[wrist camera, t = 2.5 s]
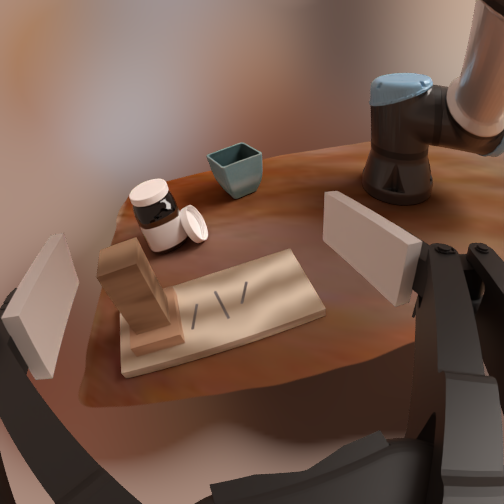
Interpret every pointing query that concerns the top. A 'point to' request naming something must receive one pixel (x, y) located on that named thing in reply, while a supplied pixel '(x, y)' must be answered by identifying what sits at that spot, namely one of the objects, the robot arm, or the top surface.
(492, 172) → the top surface
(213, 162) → the flower pot
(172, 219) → the spread jar
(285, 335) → the top surface
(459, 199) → the top surface
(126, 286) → the block
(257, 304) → the plywood board
